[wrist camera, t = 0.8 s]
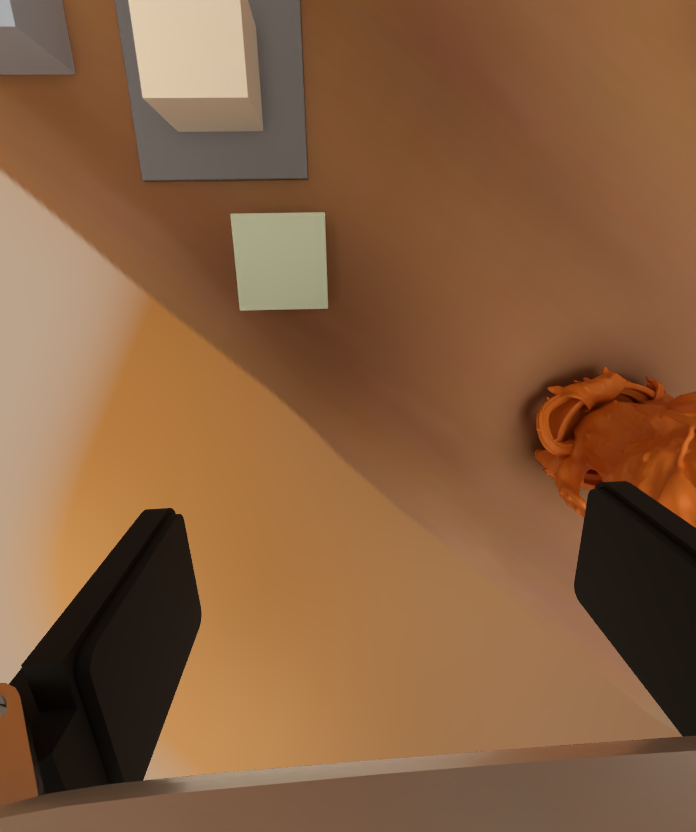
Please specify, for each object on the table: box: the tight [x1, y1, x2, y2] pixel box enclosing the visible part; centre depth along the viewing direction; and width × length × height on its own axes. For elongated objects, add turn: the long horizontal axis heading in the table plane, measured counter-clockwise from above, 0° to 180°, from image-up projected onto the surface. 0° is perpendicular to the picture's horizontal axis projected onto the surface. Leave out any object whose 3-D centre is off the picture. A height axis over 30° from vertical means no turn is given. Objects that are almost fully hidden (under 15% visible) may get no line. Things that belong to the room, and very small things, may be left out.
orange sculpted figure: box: [535, 367, 696, 528], centre depth 24 cm, size 11×11×18 cm
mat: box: [115, 0, 308, 181], centre depth 24 cm, size 10×10×1 cm
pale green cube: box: [230, 212, 328, 311], centre depth 26 cm, size 5×5×5 cm
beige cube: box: [128, 0, 263, 132], centre depth 22 cm, size 5×5×5 cm
